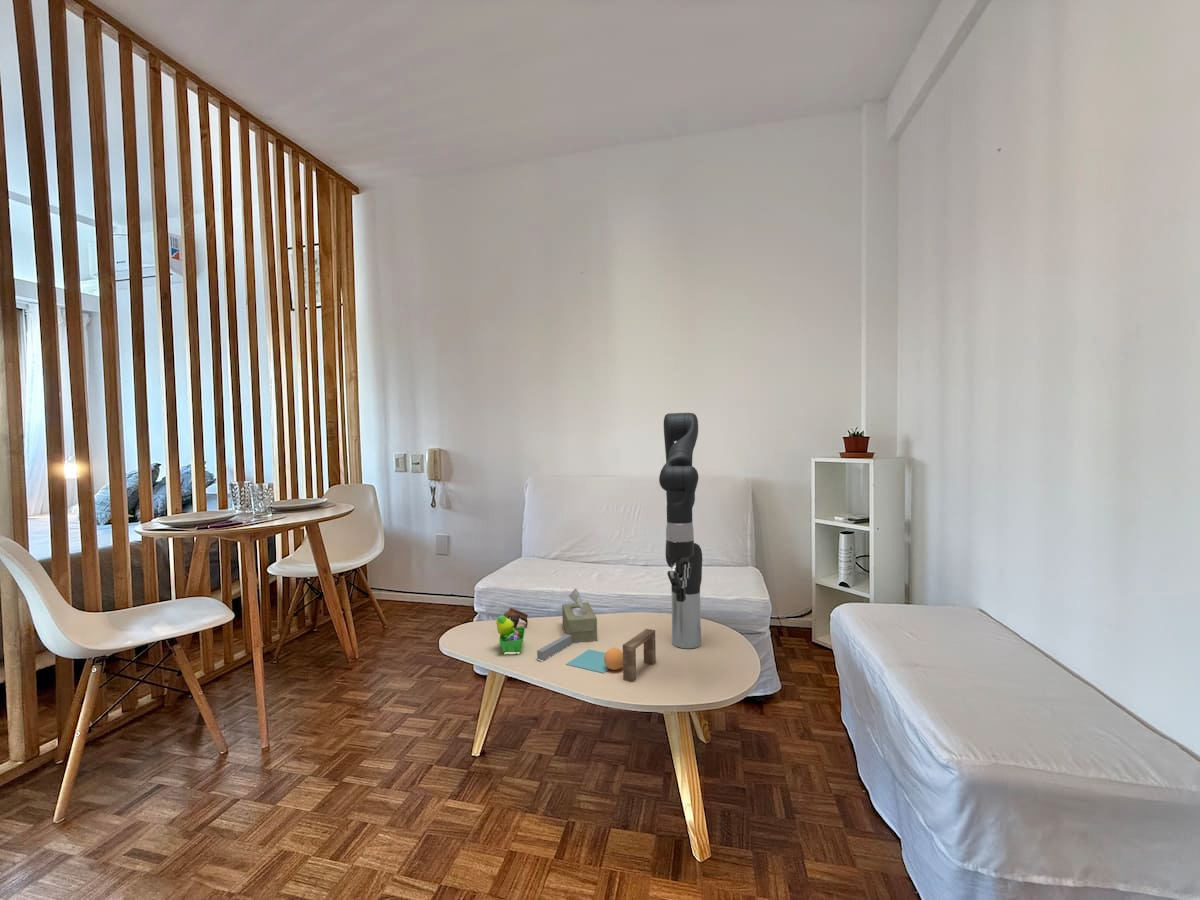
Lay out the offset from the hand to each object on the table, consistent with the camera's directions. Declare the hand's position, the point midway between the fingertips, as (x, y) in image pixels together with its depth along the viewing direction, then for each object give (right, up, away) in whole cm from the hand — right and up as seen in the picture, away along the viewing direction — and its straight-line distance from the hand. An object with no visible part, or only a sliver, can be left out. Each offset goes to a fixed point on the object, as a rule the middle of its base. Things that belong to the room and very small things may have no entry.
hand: (681, 600), depth 148 cm
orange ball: (-18, -19, +8) cm, 28 cm away
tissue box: (-30, -23, +39) cm, 54 cm away
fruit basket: (-51, -23, +25) cm, 61 cm away
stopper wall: (-37, -23, +22) cm, 48 cm away
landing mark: (-24, -22, +15) cm, 36 cm away
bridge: (-11, -22, +7) cm, 26 cm away
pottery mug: (-53, -23, +44) cm, 73 cm away
